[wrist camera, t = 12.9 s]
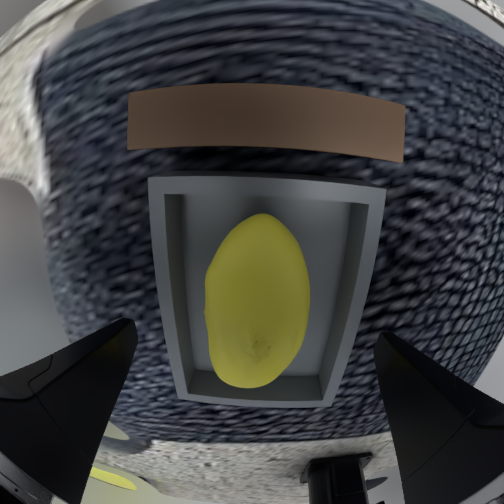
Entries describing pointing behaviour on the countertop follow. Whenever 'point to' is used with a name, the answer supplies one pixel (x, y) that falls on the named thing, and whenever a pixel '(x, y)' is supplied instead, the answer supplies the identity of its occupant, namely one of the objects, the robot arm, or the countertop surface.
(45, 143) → the countertop surface
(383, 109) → the rail
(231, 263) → the lemon
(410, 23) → the countertop surface
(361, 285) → the tray
